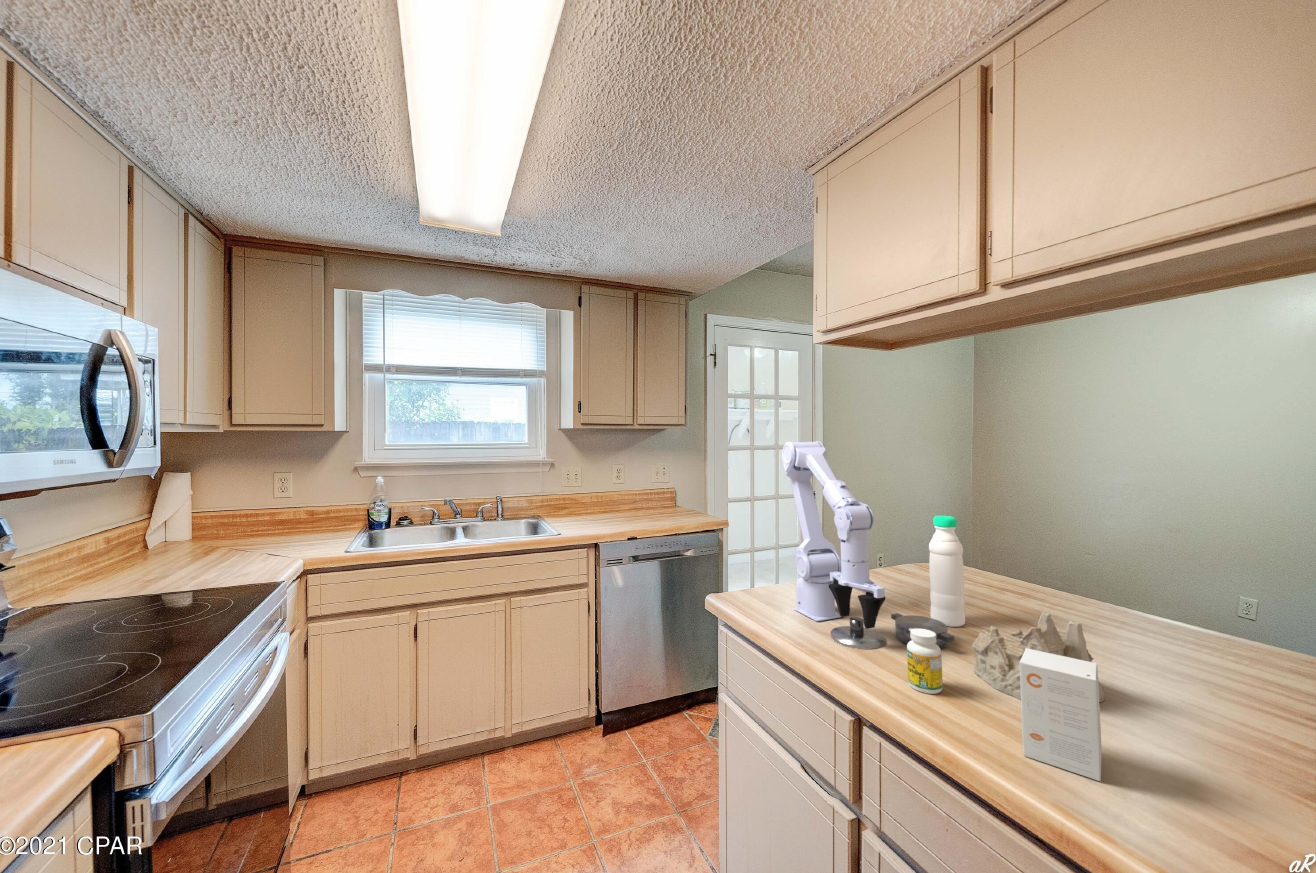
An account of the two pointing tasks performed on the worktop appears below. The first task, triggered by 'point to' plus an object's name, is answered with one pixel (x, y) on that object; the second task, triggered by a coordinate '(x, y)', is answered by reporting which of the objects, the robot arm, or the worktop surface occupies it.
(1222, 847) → the worktop surface
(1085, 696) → the small box
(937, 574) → the water bottle
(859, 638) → the lid
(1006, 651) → the ceramic cottage
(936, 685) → the supplement bottle
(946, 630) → the pot
